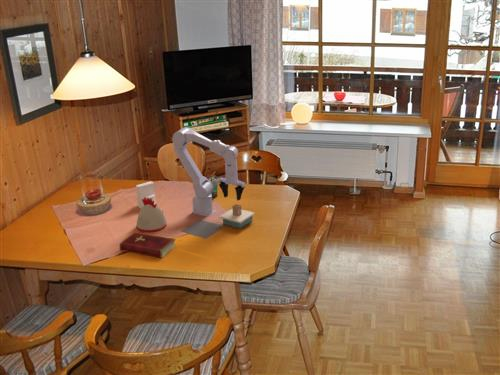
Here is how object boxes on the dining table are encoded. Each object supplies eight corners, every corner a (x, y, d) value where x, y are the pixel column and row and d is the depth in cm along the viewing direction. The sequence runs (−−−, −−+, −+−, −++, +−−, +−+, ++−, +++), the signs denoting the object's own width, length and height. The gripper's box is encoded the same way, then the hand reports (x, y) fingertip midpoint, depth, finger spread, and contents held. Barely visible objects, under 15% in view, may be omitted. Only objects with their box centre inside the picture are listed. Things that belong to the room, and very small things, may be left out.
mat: (180, 232, 263) (180, 231, 263) (200, 220, 275) (200, 219, 274) (206, 239, 255) (205, 238, 255) (225, 227, 267) (225, 226, 267)
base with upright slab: (143, 210, 288) (141, 188, 283) (135, 205, 294) (132, 183, 290) (159, 205, 293) (157, 184, 288) (150, 201, 299) (148, 179, 295)
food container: (216, 200, 297) (215, 183, 294) (205, 200, 299) (204, 182, 295) (222, 192, 309) (221, 175, 305) (211, 191, 310) (210, 174, 306)
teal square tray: (223, 225, 269) (222, 217, 268) (235, 217, 277) (234, 210, 275) (240, 229, 264) (240, 221, 262) (252, 221, 272) (252, 214, 270)
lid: (219, 217, 267) (219, 207, 265) (234, 209, 277) (233, 199, 275) (240, 223, 261) (240, 212, 259) (254, 214, 270) (254, 204, 268)
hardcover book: (161, 259, 240) (160, 250, 238) (120, 251, 248) (119, 242, 246) (176, 247, 250) (175, 238, 248) (135, 239, 258) (134, 231, 256)
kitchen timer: (150, 218, 278) (147, 190, 273) (172, 224, 271) (170, 195, 266) (131, 229, 267) (127, 200, 261) (153, 235, 260) (151, 205, 255)
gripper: (214, 171, 271) (215, 198, 276) (239, 177, 263) (240, 204, 268) (222, 167, 277) (224, 193, 281) (247, 172, 269) (248, 199, 274)
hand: (232, 198), depth 275 cm, fingers open, 7 cm apart
